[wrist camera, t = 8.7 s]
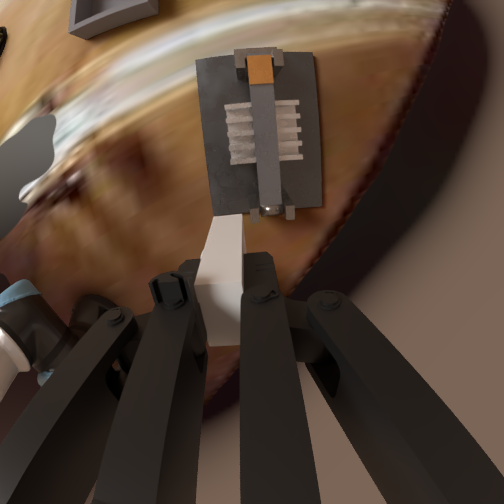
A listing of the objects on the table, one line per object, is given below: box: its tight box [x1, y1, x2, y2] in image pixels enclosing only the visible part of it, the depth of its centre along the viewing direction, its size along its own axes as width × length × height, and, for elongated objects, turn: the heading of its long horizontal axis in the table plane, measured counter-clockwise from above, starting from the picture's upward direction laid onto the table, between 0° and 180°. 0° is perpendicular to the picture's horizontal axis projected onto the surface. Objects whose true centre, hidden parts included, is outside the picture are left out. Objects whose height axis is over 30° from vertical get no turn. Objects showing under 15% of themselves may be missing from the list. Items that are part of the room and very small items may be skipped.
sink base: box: [196, 47, 322, 223], centre depth 36 cm, size 26×18×9 cm
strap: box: [246, 52, 283, 217], centre depth 33 cm, size 23×3×2 cm, turn 5°
